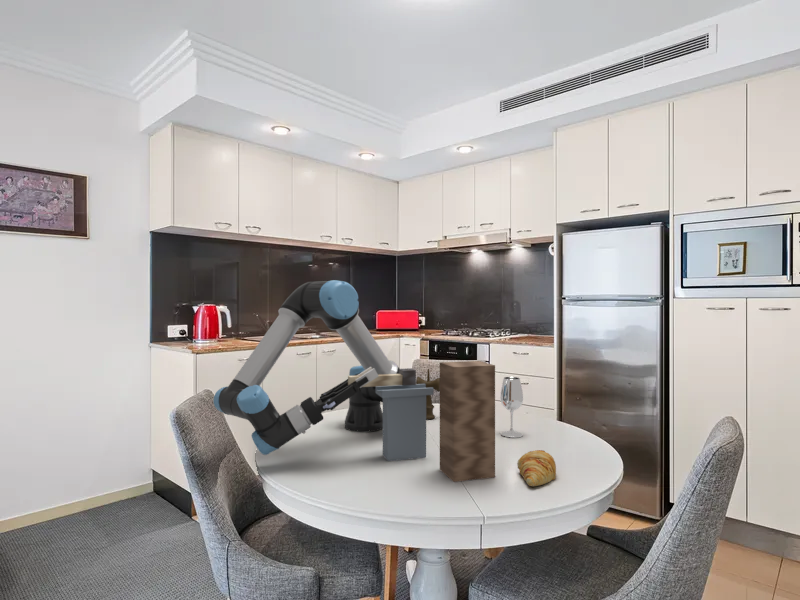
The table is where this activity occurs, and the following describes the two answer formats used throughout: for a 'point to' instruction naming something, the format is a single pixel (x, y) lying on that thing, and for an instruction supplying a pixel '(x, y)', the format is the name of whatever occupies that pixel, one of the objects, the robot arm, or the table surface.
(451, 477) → the walnut stand
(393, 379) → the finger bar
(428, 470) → the table surface
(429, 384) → the kendama
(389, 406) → the rail stand
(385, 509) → the table surface
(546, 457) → the croissant
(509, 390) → the wineglass
